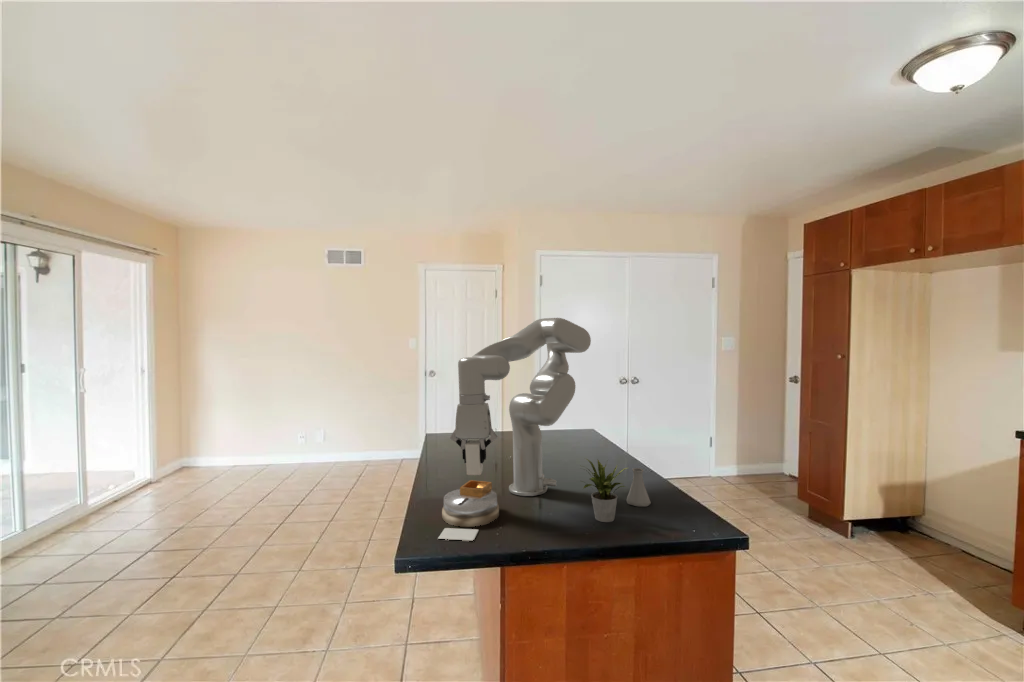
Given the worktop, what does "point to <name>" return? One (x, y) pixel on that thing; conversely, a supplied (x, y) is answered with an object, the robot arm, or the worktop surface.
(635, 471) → the flask
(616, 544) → the worktop surface
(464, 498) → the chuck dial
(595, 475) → the house plant
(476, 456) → the white rectangular block
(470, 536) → the mat
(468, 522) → the base
